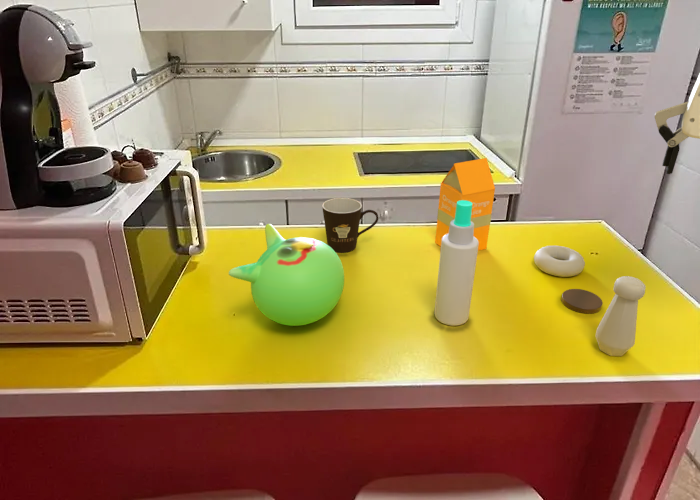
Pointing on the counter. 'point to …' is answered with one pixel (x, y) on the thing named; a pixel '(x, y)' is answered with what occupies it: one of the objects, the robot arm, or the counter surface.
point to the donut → (559, 261)
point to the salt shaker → (620, 317)
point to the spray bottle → (457, 268)
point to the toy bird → (294, 279)
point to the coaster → (581, 301)
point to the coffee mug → (343, 223)
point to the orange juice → (467, 198)
